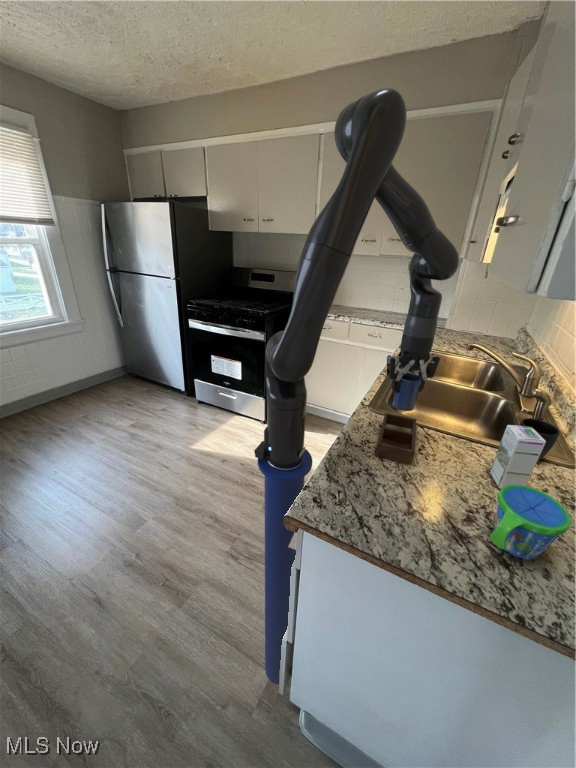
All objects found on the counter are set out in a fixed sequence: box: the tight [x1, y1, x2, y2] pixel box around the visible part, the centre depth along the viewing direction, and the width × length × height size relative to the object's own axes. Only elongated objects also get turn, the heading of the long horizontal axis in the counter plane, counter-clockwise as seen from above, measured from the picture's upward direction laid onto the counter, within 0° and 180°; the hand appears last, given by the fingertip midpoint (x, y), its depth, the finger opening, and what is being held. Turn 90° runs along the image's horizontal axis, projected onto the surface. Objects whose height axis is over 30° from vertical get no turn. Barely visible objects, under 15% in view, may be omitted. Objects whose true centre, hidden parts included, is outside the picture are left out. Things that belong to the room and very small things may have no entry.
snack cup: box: [489, 484, 572, 561], centre depth 58 cm, size 16×10×10 cm
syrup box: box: [489, 424, 546, 490], centre depth 73 cm, size 6×6×14 cm
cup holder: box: [375, 412, 417, 466], centre depth 88 cm, size 9×17×4 cm, turn 158°
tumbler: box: [392, 372, 422, 412], centre depth 87 cm, size 6×6×9 cm
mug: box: [503, 417, 561, 463], centre depth 84 cm, size 8×12×10 cm
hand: (406, 391), depth 86 cm, fingers closed on tumbler, 6 cm apart
